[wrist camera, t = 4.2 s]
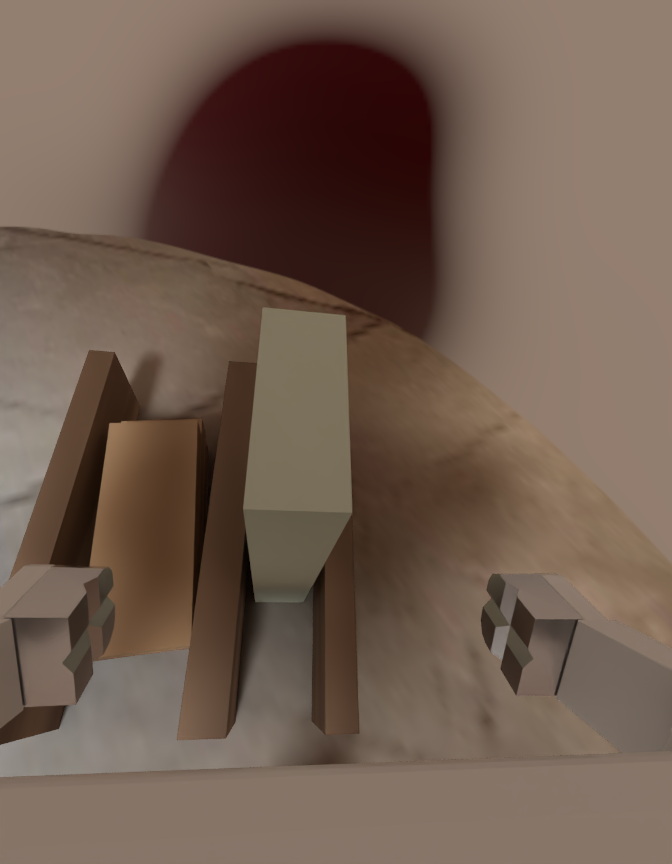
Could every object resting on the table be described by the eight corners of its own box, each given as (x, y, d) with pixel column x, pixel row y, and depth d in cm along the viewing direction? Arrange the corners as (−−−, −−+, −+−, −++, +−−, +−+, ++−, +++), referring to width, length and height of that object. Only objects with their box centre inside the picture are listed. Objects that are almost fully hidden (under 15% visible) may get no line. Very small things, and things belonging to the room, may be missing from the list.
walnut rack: (27, 729, 18) (-50, 748, 13) (118, 404, 25) (89, 350, 21) (338, 719, 19) (359, 733, 15) (334, 418, 27) (346, 370, 23)
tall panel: (255, 602, 21) (243, 509, 9) (263, 489, 24) (262, 307, 12) (303, 602, 22) (352, 512, 10) (305, 491, 25) (345, 315, 12)
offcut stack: (114, 662, 19) (76, 660, 15) (136, 447, 25) (112, 405, 21) (205, 650, 20) (191, 645, 16) (208, 444, 25) (198, 402, 21)
